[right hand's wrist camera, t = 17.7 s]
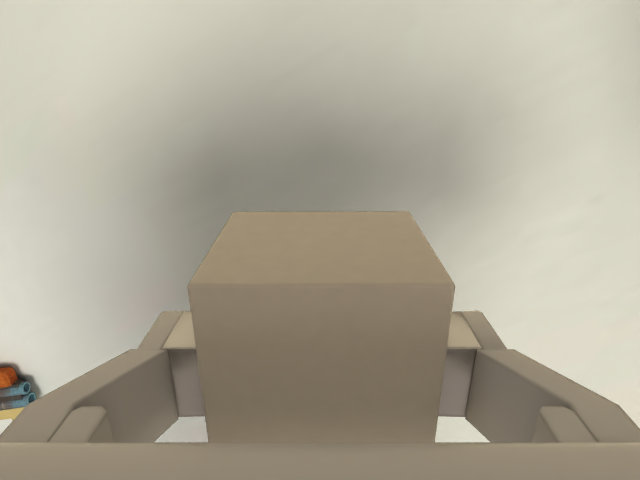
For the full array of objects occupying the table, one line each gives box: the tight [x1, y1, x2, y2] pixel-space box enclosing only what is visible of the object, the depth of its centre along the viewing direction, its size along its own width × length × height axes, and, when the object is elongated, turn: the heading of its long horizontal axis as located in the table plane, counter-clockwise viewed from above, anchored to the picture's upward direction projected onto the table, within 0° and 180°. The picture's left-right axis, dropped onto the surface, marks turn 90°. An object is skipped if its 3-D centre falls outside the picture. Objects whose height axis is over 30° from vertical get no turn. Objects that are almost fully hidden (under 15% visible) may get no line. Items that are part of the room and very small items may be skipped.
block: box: [188, 211, 455, 443], centre depth 10 cm, size 5×5×4 cm
